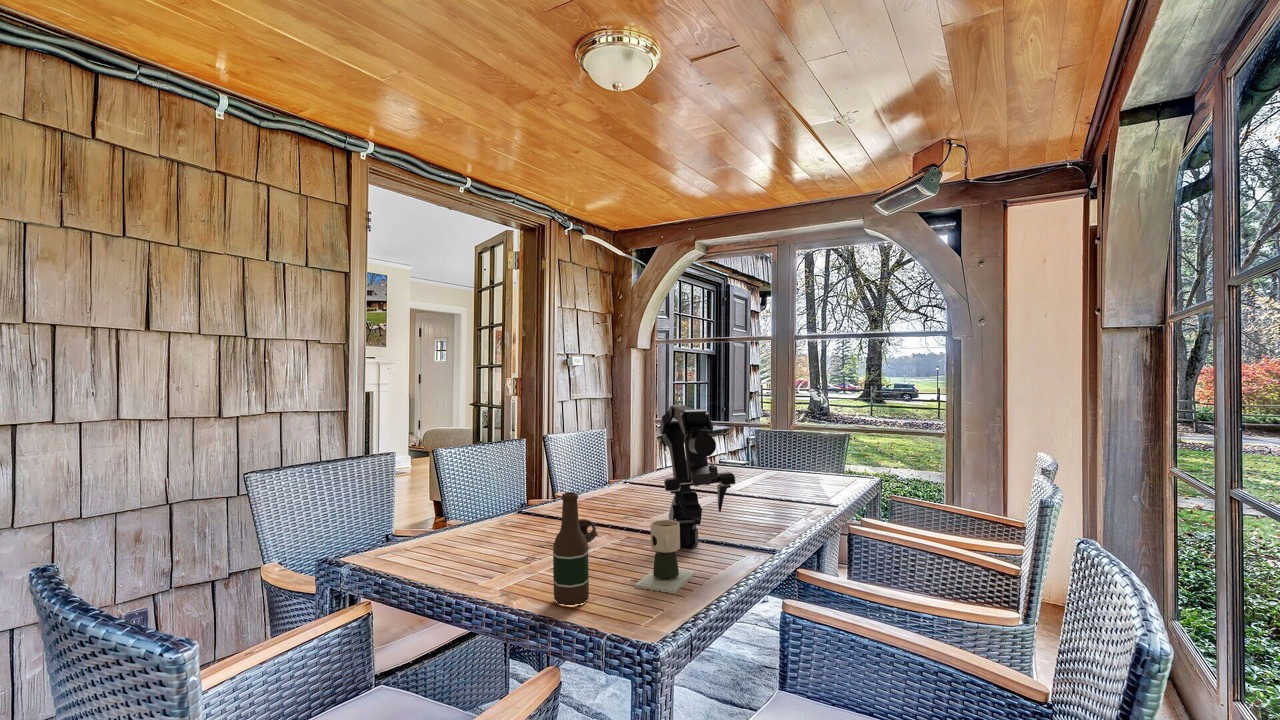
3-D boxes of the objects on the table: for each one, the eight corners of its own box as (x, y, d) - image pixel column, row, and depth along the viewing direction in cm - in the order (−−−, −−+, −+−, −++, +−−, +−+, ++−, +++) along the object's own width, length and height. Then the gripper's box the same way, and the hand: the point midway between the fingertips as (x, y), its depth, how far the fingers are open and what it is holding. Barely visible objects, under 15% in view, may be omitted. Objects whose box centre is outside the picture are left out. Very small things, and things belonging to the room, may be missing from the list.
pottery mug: (601, 541, 181) (602, 521, 178) (588, 563, 174) (590, 542, 170) (565, 529, 185) (566, 509, 181) (551, 550, 177) (552, 529, 173)
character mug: (650, 569, 149) (649, 518, 150) (678, 569, 150) (677, 517, 150) (652, 585, 138) (651, 529, 139) (683, 584, 139) (682, 528, 139)
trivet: (635, 587, 140) (635, 583, 140) (658, 569, 152) (658, 565, 152) (674, 593, 135) (674, 589, 135) (695, 574, 148) (695, 570, 148)
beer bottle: (554, 595, 135) (553, 490, 136) (588, 594, 136) (587, 489, 137) (552, 609, 128) (551, 497, 128) (588, 607, 128) (587, 496, 129)
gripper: (663, 460, 152) (670, 522, 151) (735, 453, 153) (742, 514, 151) (661, 458, 163) (667, 516, 162) (728, 451, 164) (735, 508, 162)
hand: (702, 514), depth 159 cm, fingers open, 9 cm apart
